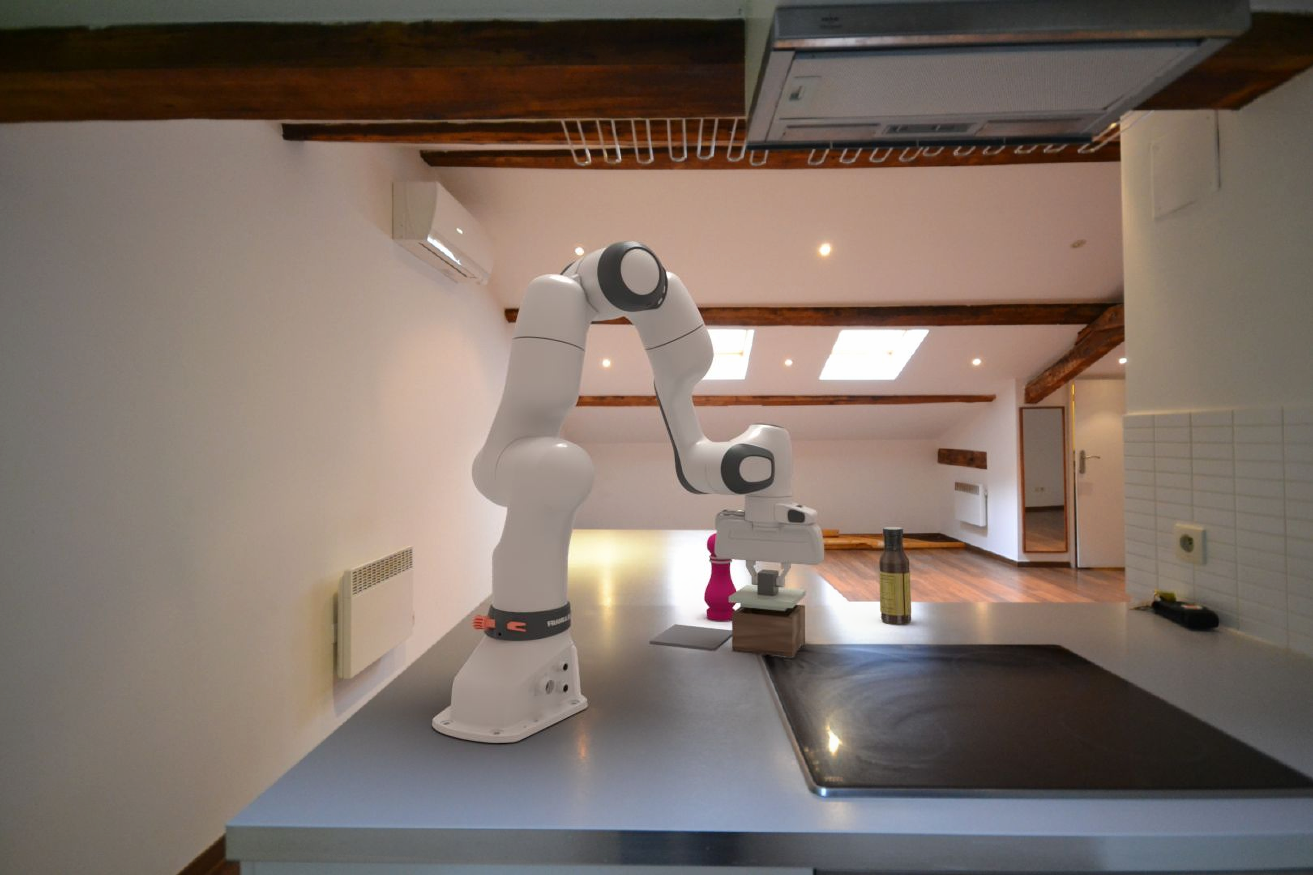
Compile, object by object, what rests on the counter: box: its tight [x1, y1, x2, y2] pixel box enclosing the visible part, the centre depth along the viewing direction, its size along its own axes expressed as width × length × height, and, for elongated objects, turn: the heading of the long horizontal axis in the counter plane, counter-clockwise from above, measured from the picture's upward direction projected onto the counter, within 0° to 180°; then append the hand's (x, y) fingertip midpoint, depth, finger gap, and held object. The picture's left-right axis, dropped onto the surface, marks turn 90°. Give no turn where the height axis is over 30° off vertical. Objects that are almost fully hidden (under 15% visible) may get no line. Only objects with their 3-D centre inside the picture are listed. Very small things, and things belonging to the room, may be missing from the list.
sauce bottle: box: [878, 526, 912, 626], centre depth 149 cm, size 6×6×20 cm
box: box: [731, 604, 806, 658], centre depth 131 cm, size 11×11×7 cm
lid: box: [729, 569, 807, 611], centre depth 131 cm, size 12×12×6 cm
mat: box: [649, 623, 732, 652], centre depth 137 cm, size 13×13×1 cm
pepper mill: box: [703, 532, 738, 622], centre depth 152 cm, size 7×7×20 cm
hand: (768, 585), depth 131 cm, fingers closed on lid, 3 cm apart
